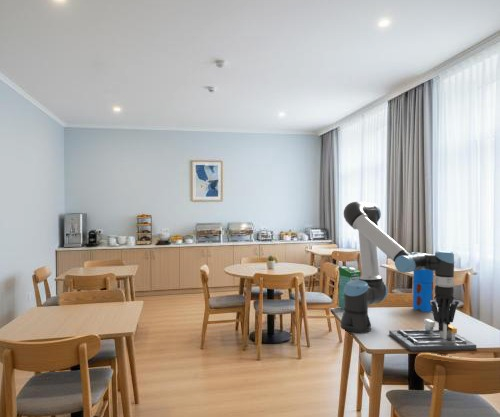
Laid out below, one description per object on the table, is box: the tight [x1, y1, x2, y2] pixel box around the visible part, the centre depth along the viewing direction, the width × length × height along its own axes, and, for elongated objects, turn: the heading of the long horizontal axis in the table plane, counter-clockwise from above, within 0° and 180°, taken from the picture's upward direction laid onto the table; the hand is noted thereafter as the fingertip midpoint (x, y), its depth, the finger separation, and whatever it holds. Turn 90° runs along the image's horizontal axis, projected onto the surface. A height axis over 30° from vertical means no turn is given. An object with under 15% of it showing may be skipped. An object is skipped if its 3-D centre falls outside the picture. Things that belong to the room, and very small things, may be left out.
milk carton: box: [338, 265, 362, 309], centre depth 222 cm, size 9×9×25 cm
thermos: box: [412, 269, 434, 313], centre depth 221 cm, size 11×11×25 cm
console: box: [388, 328, 477, 352], centre depth 168 cm, size 30×20×3 cm
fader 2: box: [447, 324, 458, 341], centre depth 164 cm, size 2×5×6 cm, turn 5°
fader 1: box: [423, 318, 436, 334], centre depth 173 cm, size 2×5×6 cm, turn 5°
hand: (443, 337), depth 164 cm, fingers closed
